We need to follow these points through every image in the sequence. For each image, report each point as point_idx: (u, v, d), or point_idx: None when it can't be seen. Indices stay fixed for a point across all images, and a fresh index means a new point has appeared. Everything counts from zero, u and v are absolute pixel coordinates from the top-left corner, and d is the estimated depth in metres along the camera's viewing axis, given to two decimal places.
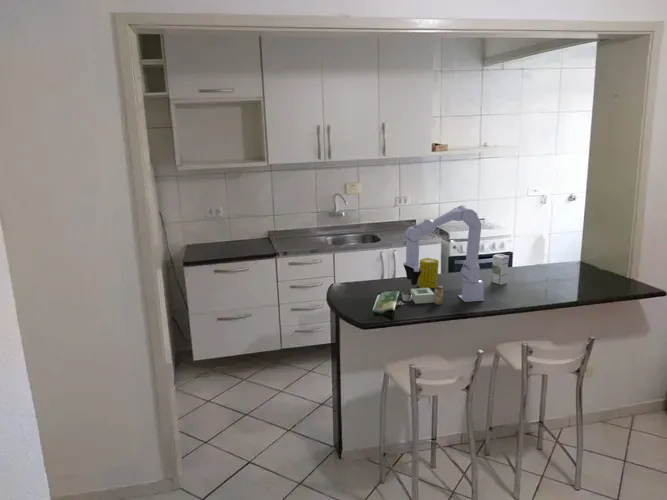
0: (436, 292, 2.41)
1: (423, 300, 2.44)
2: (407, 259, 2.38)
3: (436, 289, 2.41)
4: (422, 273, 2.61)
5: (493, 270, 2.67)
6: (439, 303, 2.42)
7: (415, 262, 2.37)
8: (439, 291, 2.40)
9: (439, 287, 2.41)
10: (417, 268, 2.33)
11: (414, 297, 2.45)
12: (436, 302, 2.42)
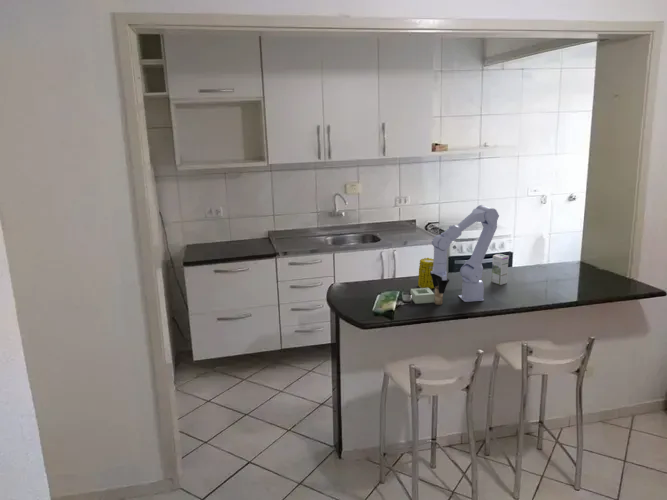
0: (436, 292, 2.41)
1: (423, 300, 2.44)
2: (435, 267, 2.38)
3: (436, 289, 2.41)
4: (422, 273, 2.61)
5: (493, 270, 2.67)
6: (439, 303, 2.42)
7: (443, 270, 2.37)
8: None
9: None
10: (445, 277, 2.33)
11: (414, 297, 2.45)
12: (436, 302, 2.42)
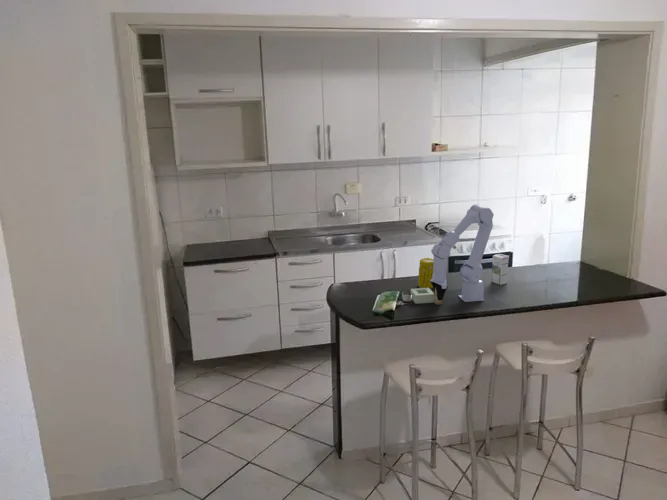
0: (436, 292, 2.41)
1: (423, 300, 2.44)
2: (434, 276, 2.39)
3: None
4: (422, 273, 2.61)
5: (493, 270, 2.67)
6: (439, 303, 2.42)
7: (442, 279, 2.38)
8: None
9: None
10: (445, 285, 2.34)
11: (414, 297, 2.45)
12: (436, 302, 2.42)
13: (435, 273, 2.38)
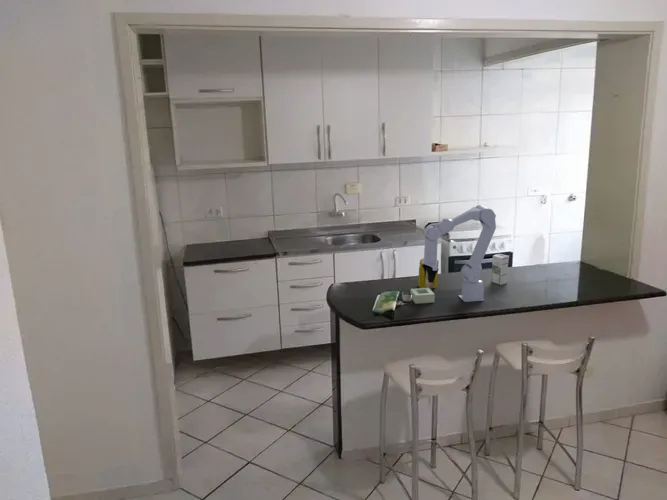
0: (427, 275, 2.42)
1: (423, 300, 2.44)
2: (425, 258, 2.39)
3: None
4: (422, 273, 2.61)
5: (493, 270, 2.67)
6: (430, 286, 2.43)
7: (433, 261, 2.38)
8: None
9: None
10: (436, 267, 2.35)
11: (414, 297, 2.45)
12: (427, 285, 2.43)
13: (426, 255, 2.39)
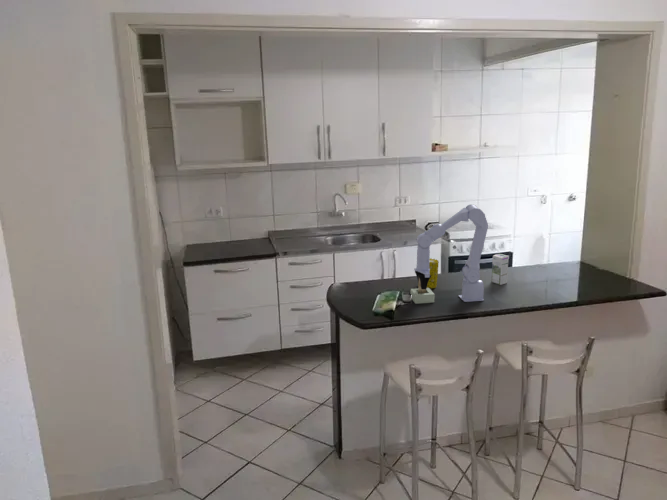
0: (419, 282, 2.45)
1: (423, 300, 2.44)
2: (418, 265, 2.43)
3: (419, 279, 2.45)
4: None
5: (493, 270, 2.67)
6: (422, 292, 2.46)
7: (426, 268, 2.42)
8: None
9: None
10: (428, 274, 2.38)
11: (414, 297, 2.45)
12: (419, 291, 2.46)
13: (418, 262, 2.42)
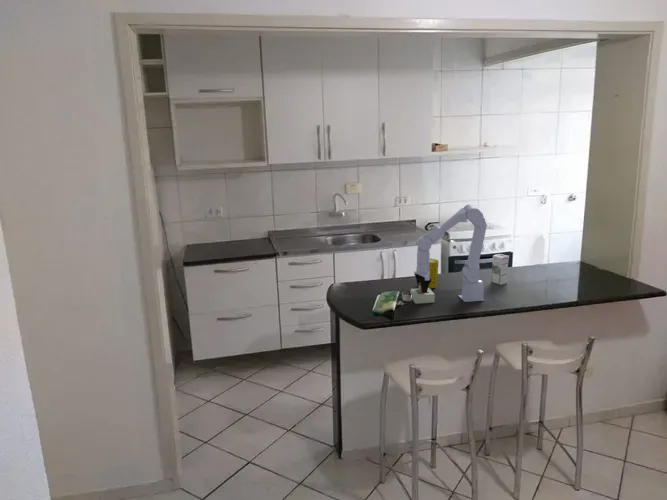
0: (419, 288, 2.46)
1: (423, 300, 2.44)
2: (418, 268, 2.43)
3: (419, 285, 2.46)
4: None
5: (493, 270, 2.67)
6: None
7: (426, 271, 2.42)
8: None
9: None
10: (428, 277, 2.38)
11: (414, 297, 2.45)
12: None
13: (418, 265, 2.42)
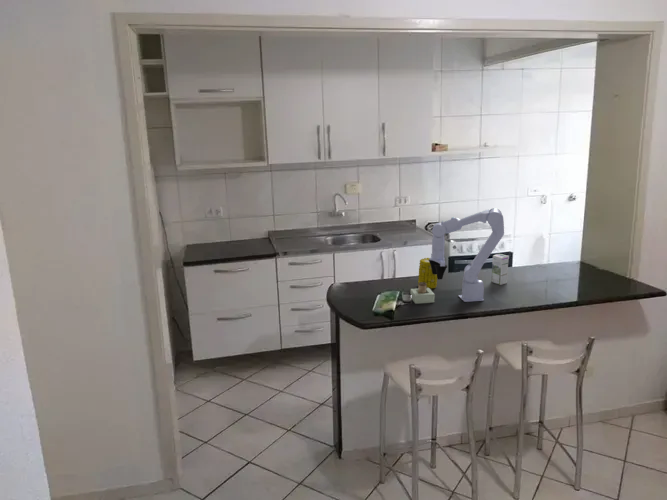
0: (419, 288, 2.46)
1: (423, 300, 2.44)
2: (433, 254, 2.45)
3: (419, 285, 2.46)
4: (422, 273, 2.61)
5: (493, 270, 2.67)
6: None
7: (441, 257, 2.45)
8: (422, 287, 2.45)
9: (422, 283, 2.46)
10: (443, 263, 2.41)
11: (414, 297, 2.45)
12: None
13: (434, 251, 2.45)
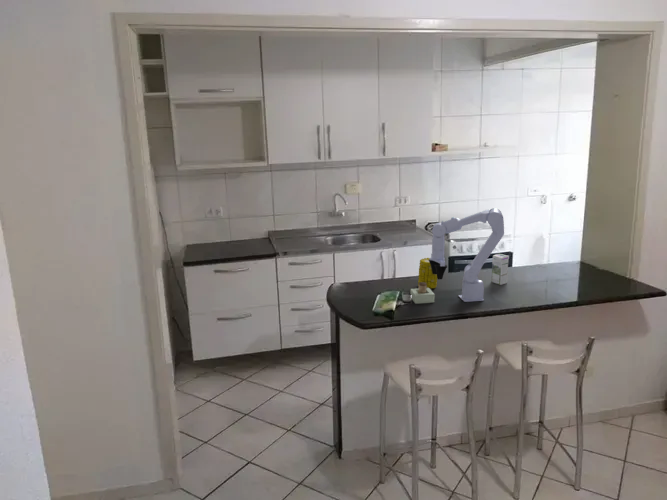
0: (419, 288, 2.46)
1: (423, 300, 2.44)
2: (433, 254, 2.45)
3: (419, 285, 2.46)
4: (422, 273, 2.61)
5: (493, 270, 2.67)
6: None
7: (441, 257, 2.45)
8: (422, 287, 2.45)
9: (422, 283, 2.46)
10: (443, 263, 2.41)
11: (414, 297, 2.45)
12: None
13: (434, 251, 2.45)
